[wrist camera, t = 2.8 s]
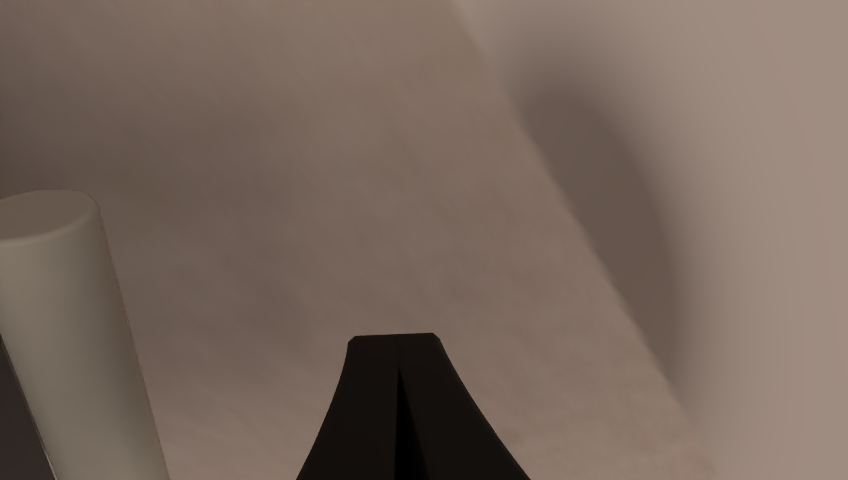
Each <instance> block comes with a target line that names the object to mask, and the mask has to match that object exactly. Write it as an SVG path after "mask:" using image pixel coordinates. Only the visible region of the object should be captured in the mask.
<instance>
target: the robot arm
mask: <svg viewBox="0 0 848 480" xmlns="http://www.w3.org/2000/svg"><path fill="white" fill-rule="evenodd" d="M296 480H530V478H529V477H528V476H527V474H526V473H525V472H524V471H523V469H522V468H521V467H520V465H519V464H518V463H517V462H516V460H515V459H514V458H513V456H512V455H511V454H510V452H509V451H508V450H507V448H506V447H505V446H504V444H503V443H502V441H501V440H500V439H499V437H498V436H497V434H496V433H495V431H494V430H493V428H492V427H491V426H490V424H489V423H488V421H487V420H486V418H485V417H484V415H483V414H482V412H481V411H480V409H479V408H478V407H477V405H476V403H475V402H474V400H473V399H472V397H471V396H470V394H469V392H468V391H467V389H466V387H465V386H464V384H463V382H462V381H461V379H460V377H459V376H458V374H457V372H456V370H455V369H454V367H453V365H452V363H451V361H450V359H449V358H448V356H447V354H446V352H445V350H444V348H443V345H442V343H441V341H440V339H439V338H438V337H437V336H436V335H435V334H434V333H416V334H391V335H366V336H355V337H354V338H352V339H351V340H350V341H349V342H348V347H347V354H346V358H345V362H344V366H343V370H342V373H341V376H340V380H339V382H338V385H337V388H336V391H335V394H334V397H333V399H332V402H331V404H330V407H329V409H328V412H327V414H326V416H325V419H324V421H323V424H322V426H321V428H320V431H319V433H318V436H317V438H316V440H315V442H314V445H313V447H312V449H311V451H310V453H309V455H308V457H307V459H306V461H305V463H304V465H303V467H302V469H301V471H300V473H299V475H298V477H297V479H296Z"/></svg>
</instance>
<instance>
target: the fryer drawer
mask: <svg viewBox="0 0 848 480" xmlns="http://www.w3.org/2000/svg"><path fill="white" fill-rule="evenodd" d="M0 334H1V336H2V339H3V342H4V344H5V347H6V349H7V352H8V354H9V357H10V359H11V362H12V364H13V367H14V369H15V372H16V374H17V377H18V380H19V382H20V385H21V387H22V390H23V392H24V395H25V397H26V400H27V402H28V405H29V407H30V410H31V412H32V415H33V418H34V420H35V423H36V425H37V428H38V430H39V433H40V435H41V438H42V440H43V443H44V445H45V448H46V450H47V453H48V456H49V458H50V461H51V463H52V466H53V468H54V471H55V473H56V476H57V478H58V480H170V479H169V475H168V471H167V467H166V463H165V459H164V456H163V452H162V448H161V444H160V440H159V437H158V433H157V429H156V425H155V421H154V417H153V414H152V410H151V406H150V402H149V398H148V395H147V391H146V387H145V383H144V379H143V376H142V372H141V368H140V364H139V360H138V356H137V353H136V349H135V345H134V341H133V337H132V334H131V330H130V326H129V322H128V318H127V314H126V311H125V307H124V303H123V299H122V295H121V292H120V288H119V284H118V280H117V276H116V273H115V269H114V265H113V261H112V257H111V253H110V250H109V246H108V242H107V238H106V234H105V231H104V227H103V223H102V219H101V215H100V212H99V208H98V205H97V203H96V202H95V201H94V199H93V198H92V197H90V196H89V195H87V194H85V193H82V192H79V191H74V190H65V189H49V190H38V191H31V192H25V193H20V194H16V195H12V196H8V197H5V198H2V199H0ZM0 480H55V478H54V475H53V473H52V470H51V468H50V465H49V463H48V460H47V458H46V455H45V453H44V450H43V448H42V445H41V443H40V440H39V438H38V435H37V433H36V430H35V428H34V425H33V423H32V420H31V418H30V415H29V413H28V410H27V408H26V405H25V403H24V400H23V397H22V395H21V392H20V390H19V387H18V385H17V382H16V380H15V377H14V375H13V372H12V370H11V367H10V365H9V362H8V360H7V357H6V355H5V352H4V350H3V347H2V345H1V342H0Z"/></svg>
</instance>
